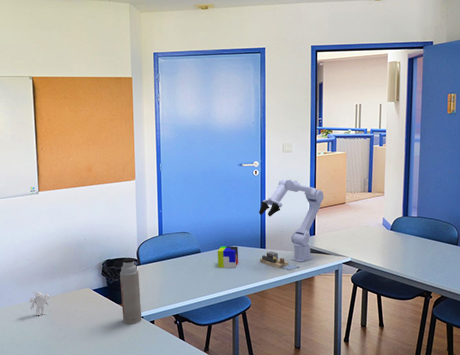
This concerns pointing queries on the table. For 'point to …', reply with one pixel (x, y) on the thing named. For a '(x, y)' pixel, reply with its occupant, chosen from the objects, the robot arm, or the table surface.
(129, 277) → the thermos bottle
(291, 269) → the mat
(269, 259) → the lever
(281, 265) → the plane body
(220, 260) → the puzzle toy
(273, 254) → the lever cap
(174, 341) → the table surface
